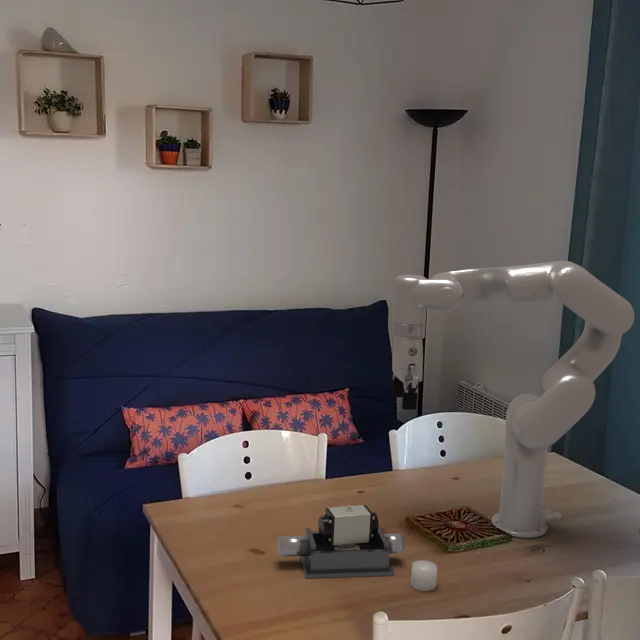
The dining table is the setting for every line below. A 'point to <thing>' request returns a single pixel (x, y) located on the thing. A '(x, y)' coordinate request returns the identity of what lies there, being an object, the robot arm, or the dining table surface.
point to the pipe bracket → (342, 555)
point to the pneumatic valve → (348, 526)
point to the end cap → (423, 575)
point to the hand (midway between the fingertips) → (403, 403)
